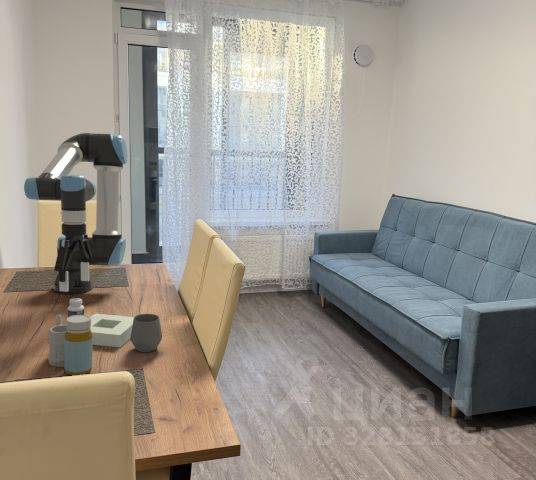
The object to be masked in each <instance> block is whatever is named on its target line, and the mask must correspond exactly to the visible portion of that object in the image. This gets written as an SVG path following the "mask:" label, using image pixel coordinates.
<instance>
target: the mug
mask: <svg viewBox="0 0 536 480" xmlns="http://www.w3.org/2000/svg"><path fill="white" fill-rule="evenodd" d="M62 323H63V322H62V315H61V314H60V313H59V314H56V323H55V324H56V325H54V326H52V327H50V328H49V330H48V332H49V337H48V340H47V342H48V348H49V350H48V354H47V360H48V363H49V365H50V366H53V367H56V368H59V367H60V368H62V367H63V368H64V338H65V333H66V328H67V327H66V324H62Z"/></svg>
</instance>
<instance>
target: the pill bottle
mask: <svg viewBox="0 0 536 480" xmlns="http://www.w3.org/2000/svg"><path fill="white" fill-rule="evenodd" d="M82 304H83V299H82V298H79V297H78V298H70V299H69V306H68V307H67V308H66V310H67V318H68V317H70V316H73V315H85V307H84V305H82Z"/></svg>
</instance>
